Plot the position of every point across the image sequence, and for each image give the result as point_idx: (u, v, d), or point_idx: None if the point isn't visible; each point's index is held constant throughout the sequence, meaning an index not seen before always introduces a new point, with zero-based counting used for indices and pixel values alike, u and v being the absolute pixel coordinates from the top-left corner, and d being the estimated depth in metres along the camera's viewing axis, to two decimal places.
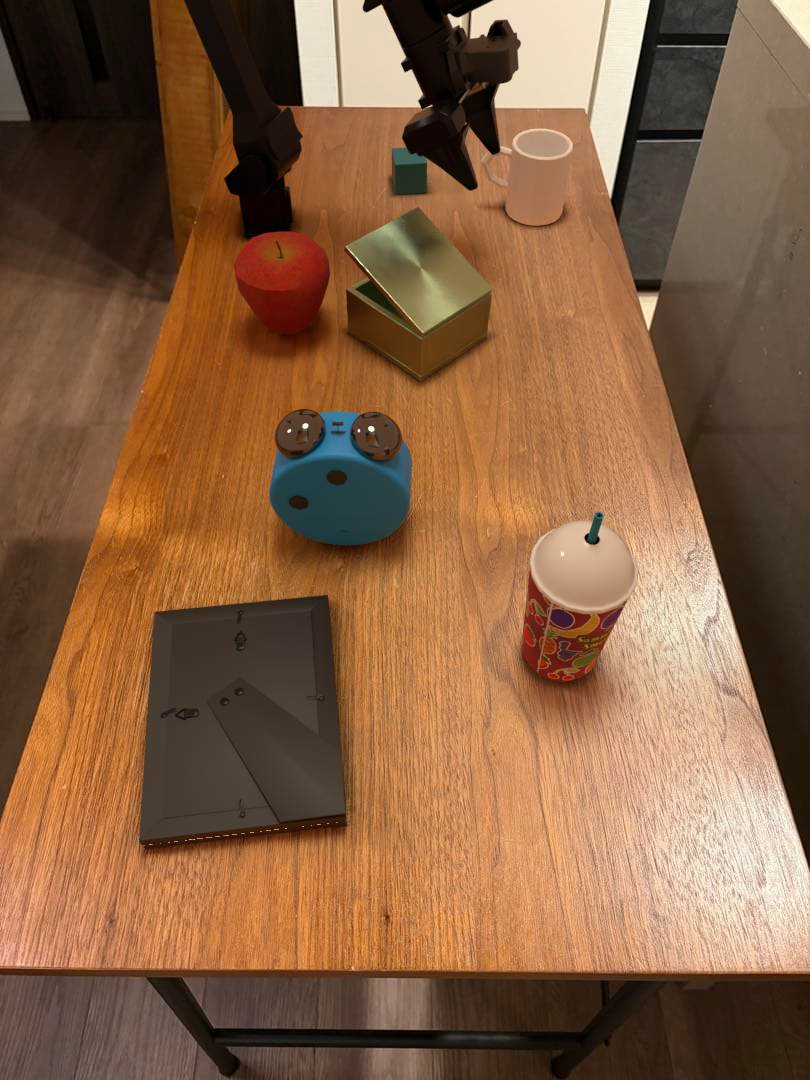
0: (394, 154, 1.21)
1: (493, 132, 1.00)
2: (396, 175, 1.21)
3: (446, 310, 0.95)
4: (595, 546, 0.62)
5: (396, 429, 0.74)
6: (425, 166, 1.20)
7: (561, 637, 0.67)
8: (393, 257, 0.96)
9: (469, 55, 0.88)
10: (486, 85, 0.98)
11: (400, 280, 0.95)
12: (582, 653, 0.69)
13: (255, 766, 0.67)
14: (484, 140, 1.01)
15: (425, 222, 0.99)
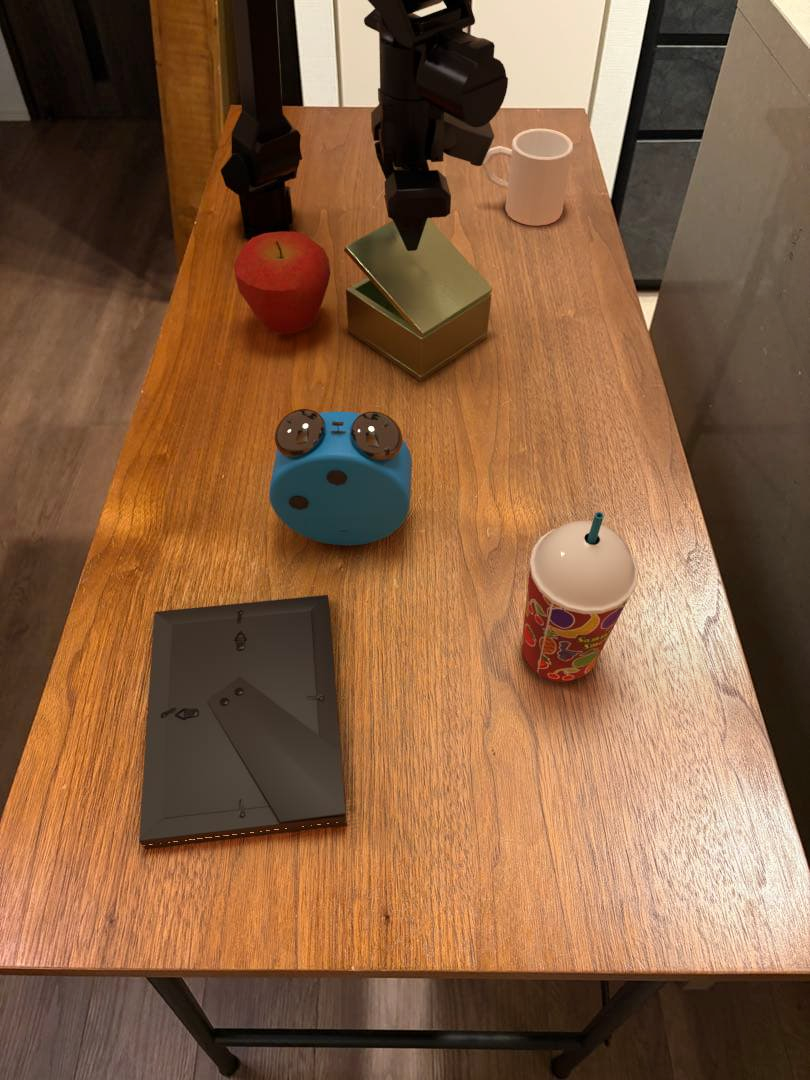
0: None
1: None
2: None
3: (446, 310, 0.95)
4: (595, 546, 0.62)
5: (396, 429, 0.74)
6: None
7: (561, 637, 0.67)
8: (393, 257, 0.96)
9: (458, 130, 0.84)
10: None
11: (400, 280, 0.95)
12: (582, 653, 0.69)
13: (255, 766, 0.67)
14: None
15: None
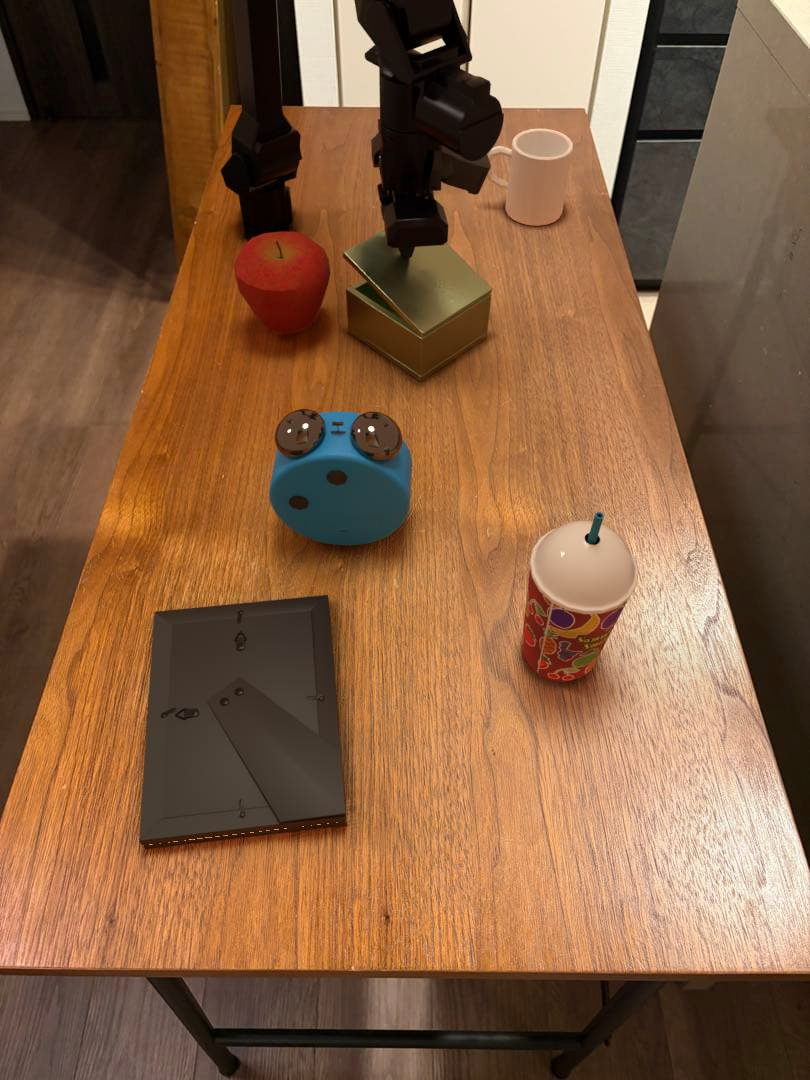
0: None
1: None
2: None
3: (446, 310, 0.95)
4: (595, 546, 0.62)
5: (396, 429, 0.74)
6: None
7: (561, 637, 0.67)
8: (391, 261, 0.96)
9: (456, 160, 0.86)
10: None
11: (398, 283, 0.95)
12: (582, 653, 0.69)
13: (255, 766, 0.67)
14: None
15: None
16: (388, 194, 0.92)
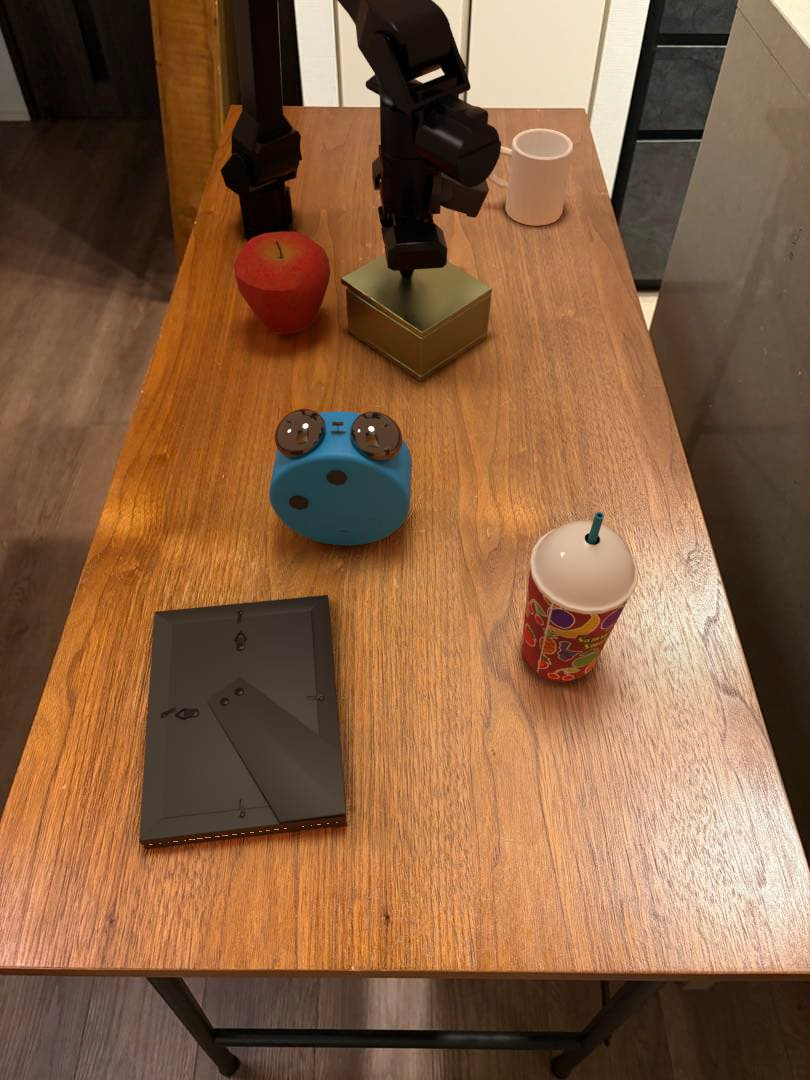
0: None
1: None
2: None
3: (444, 311, 0.95)
4: (595, 546, 0.62)
5: (396, 429, 0.74)
6: None
7: (561, 637, 0.67)
8: (388, 279, 0.98)
9: (455, 185, 0.88)
10: None
11: (396, 295, 0.97)
12: (582, 653, 0.69)
13: (255, 765, 0.67)
14: None
15: None
16: (388, 217, 0.94)
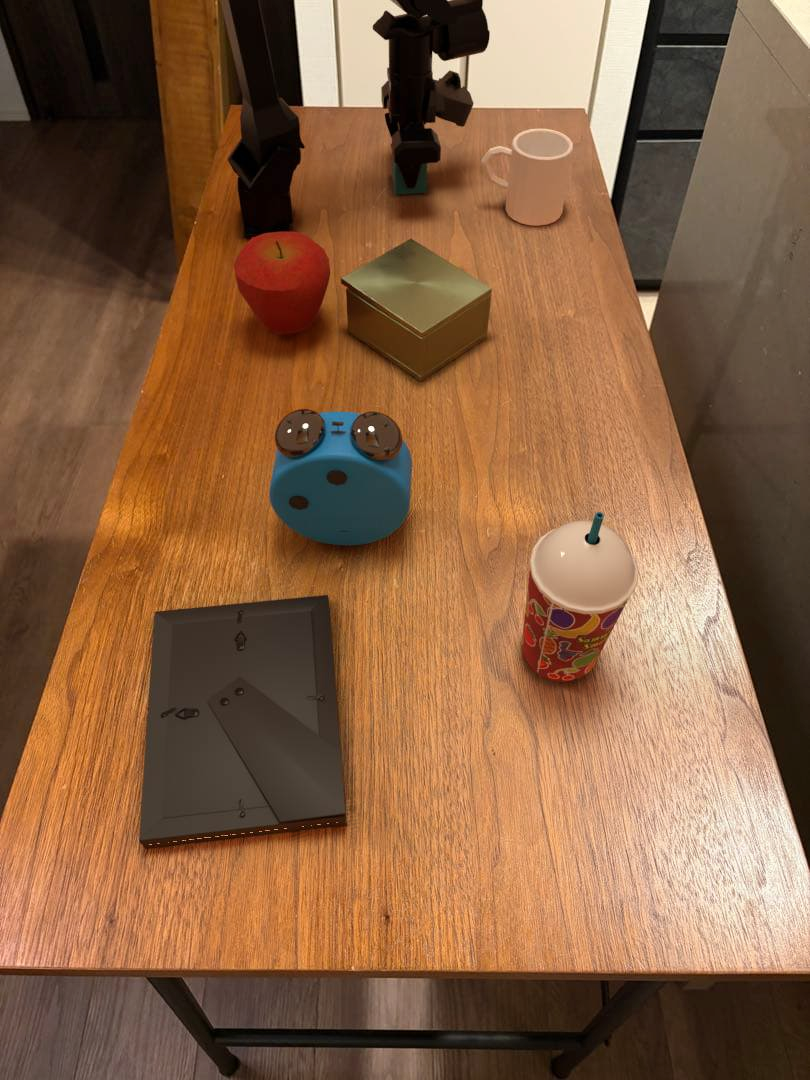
0: None
1: None
2: (396, 175, 1.21)
3: (444, 311, 0.95)
4: (595, 546, 0.62)
5: (396, 429, 0.74)
6: (425, 166, 1.20)
7: (561, 637, 0.67)
8: (388, 279, 0.98)
9: (446, 98, 1.13)
10: None
11: (396, 295, 0.97)
12: (582, 653, 0.69)
13: (255, 765, 0.67)
14: None
15: (419, 248, 1.02)
16: None
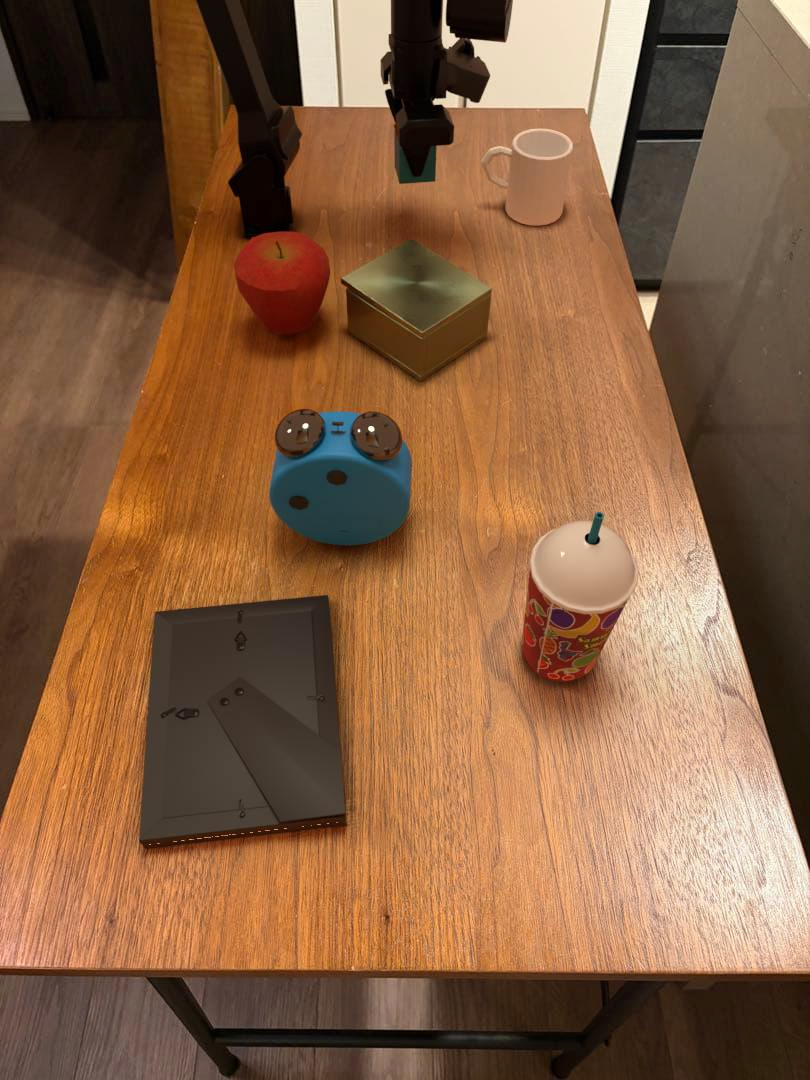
0: None
1: None
2: (400, 161, 1.04)
3: (444, 311, 0.95)
4: (595, 546, 0.62)
5: (396, 429, 0.74)
6: (434, 150, 1.03)
7: (561, 637, 0.67)
8: (388, 279, 0.98)
9: (459, 69, 0.96)
10: None
11: (396, 295, 0.97)
12: (582, 653, 0.69)
13: (255, 765, 0.67)
14: None
15: (419, 248, 1.02)
16: None
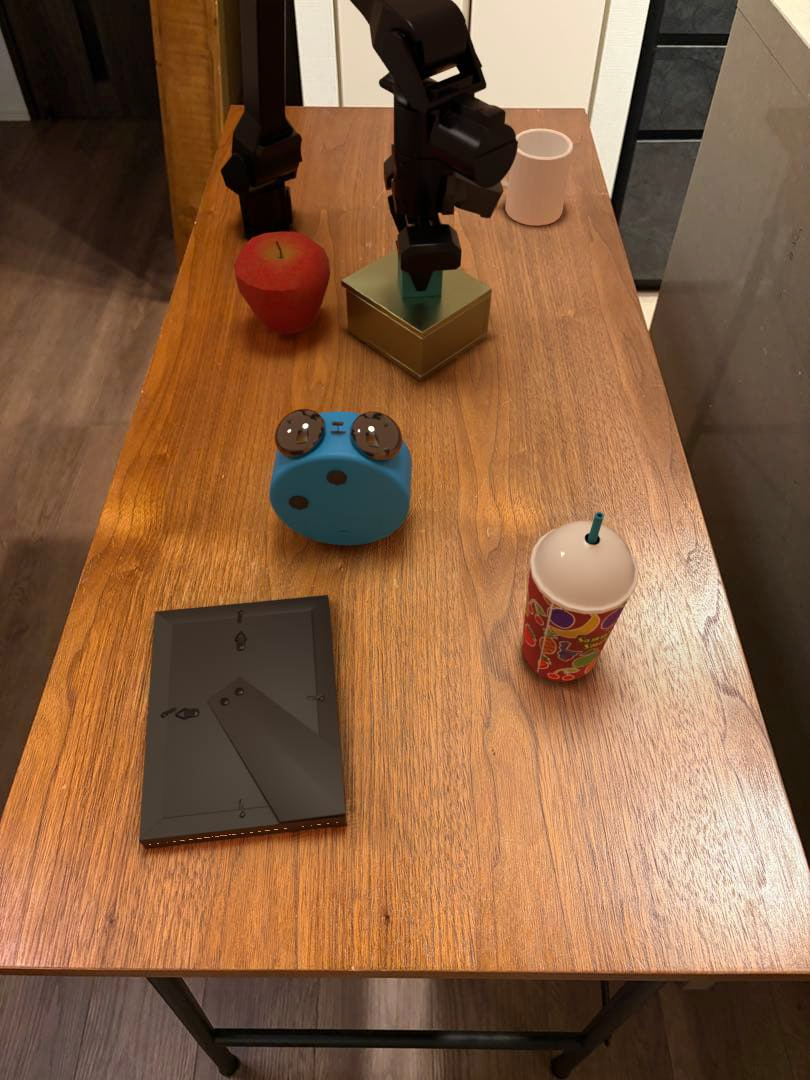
0: None
1: None
2: (403, 276, 0.94)
3: (444, 311, 0.95)
4: (595, 546, 0.62)
5: (396, 429, 0.74)
6: None
7: (561, 637, 0.67)
8: (388, 281, 0.99)
9: (469, 185, 0.87)
10: None
11: (396, 296, 0.97)
12: (582, 653, 0.69)
13: (255, 765, 0.67)
14: None
15: None
16: None
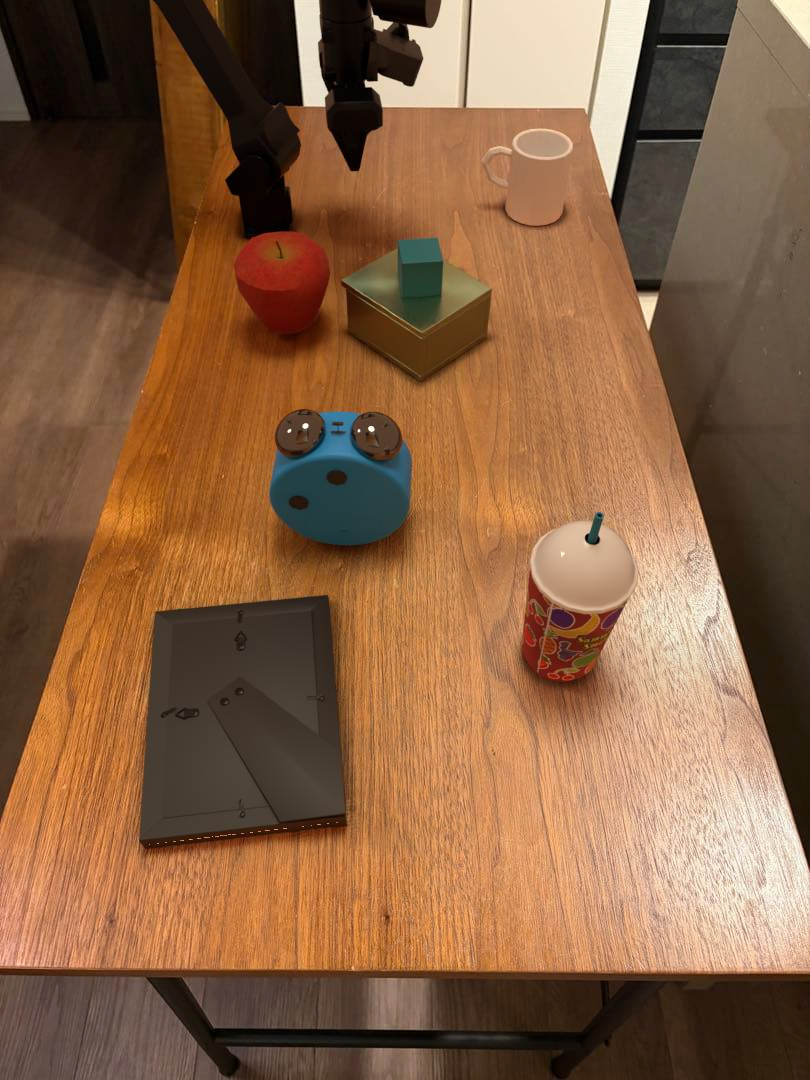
0: (401, 248, 0.95)
1: None
2: (403, 276, 0.94)
3: (444, 311, 0.95)
4: (595, 546, 0.62)
5: (396, 429, 0.74)
6: (440, 265, 0.94)
7: (561, 637, 0.67)
8: (388, 281, 0.99)
9: (390, 52, 0.94)
10: None
11: (396, 296, 0.97)
12: (582, 653, 0.69)
13: (255, 765, 0.67)
14: None
15: None
16: None
